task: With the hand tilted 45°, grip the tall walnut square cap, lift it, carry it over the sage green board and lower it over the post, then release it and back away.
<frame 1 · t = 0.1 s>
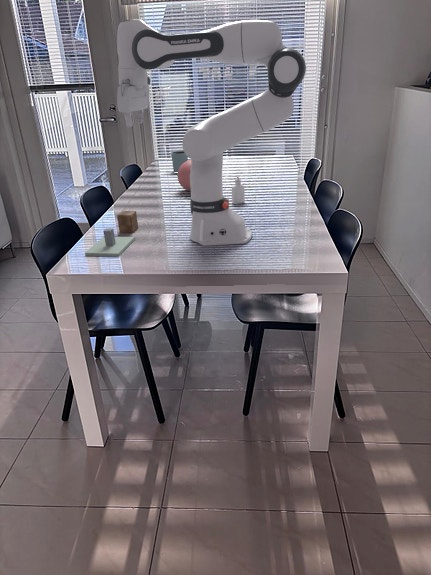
hand: (134, 125, 142), 39 cm above the table, tool pointing down, fingers open, 8 cm apart
drinking glass: (181, 172, 262), on the table
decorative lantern: (194, 192, 216), on the table
post board: (111, 247, 151), on the table
eye dropper bottle: (238, 203, 194), on the table
walnut cap: (129, 230, 166), on the table
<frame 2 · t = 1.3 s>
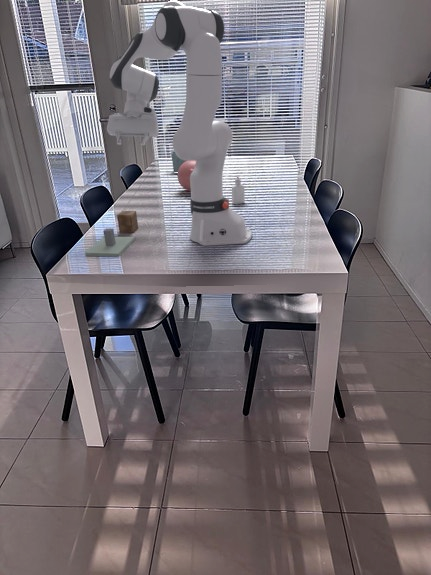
hand: (130, 144, 167), 30 cm above the table, tool tilted 45°, fingers open, 8 cm apart
nothing on the table moved.
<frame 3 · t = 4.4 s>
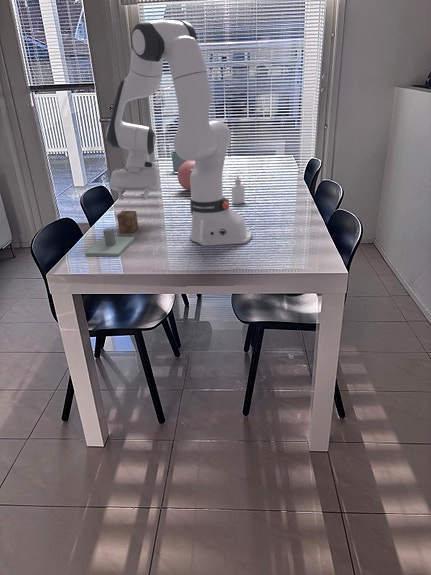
hand: (131, 198, 168), 10 cm above the table, tool tilted 45°, fingers open, 8 cm apart
nothing on the table moved.
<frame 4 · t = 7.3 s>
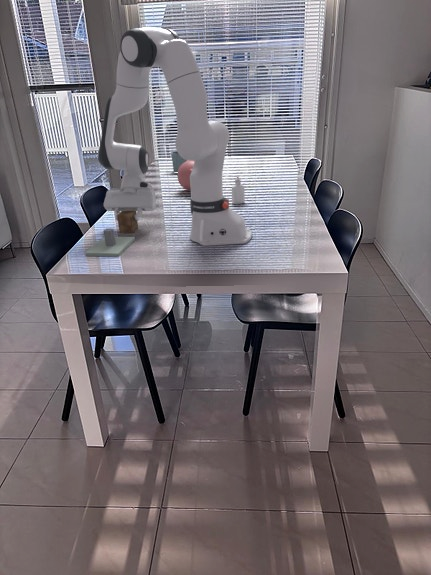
hand: (126, 220, 164), 4 cm above the table, tool tilted 45°, fingers closed on walnut cap, 6 cm apart
walnut cap: (129, 230, 166), on the table, touching gripper
everything else where it was.
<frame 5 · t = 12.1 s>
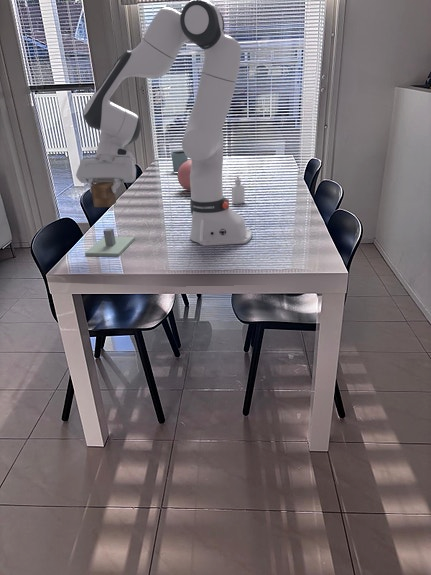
hand: (102, 192, 142), 19 cm above the table, tool tilted 45°, fingers closed on walnut cap, 6 cm apart
walnut cap: (105, 204, 145), point 15 cm above the table, touching gripper
everything else where it was.
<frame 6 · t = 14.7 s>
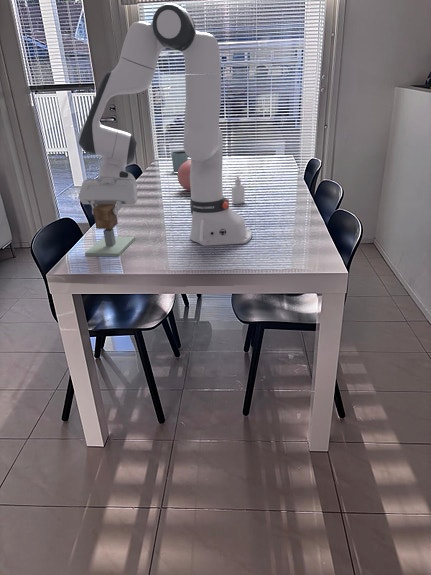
hand: (104, 214, 145), 12 cm above the table, tool tilted 45°, fingers closed on walnut cap, 6 cm apart
walnut cap: (107, 226, 147), point 8 cm above the table, touching gripper
everything else where it was.
when the fingers open (7 cm above the table, at t = 16.9 s): walnut cap drops 1 cm, resting on post board.
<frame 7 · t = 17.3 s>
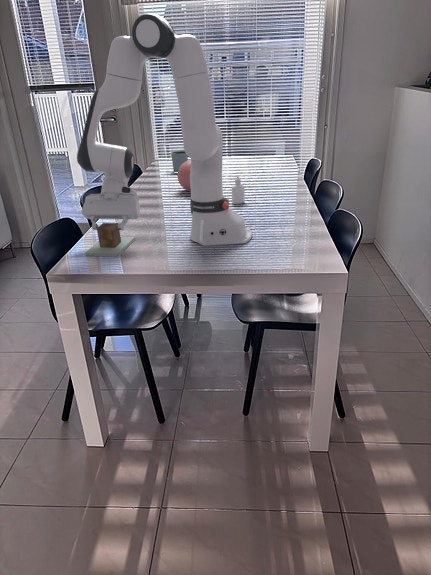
hand: (107, 229, 147), 7 cm above the table, tool tilted 45°, fingers open, 8 cm apart
walnut cap: (110, 244, 150), point 1 cm above the table, touching post board
everything else where it was.
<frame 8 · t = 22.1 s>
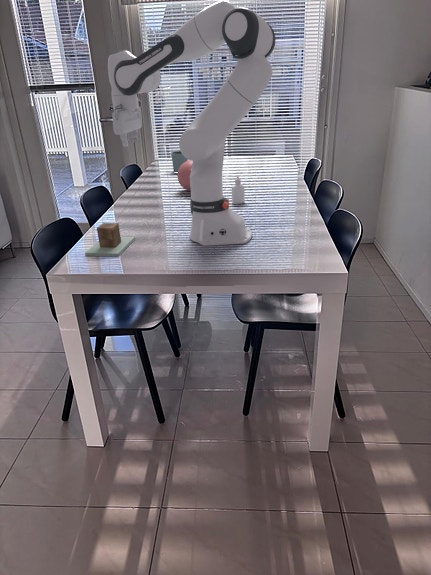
hand: (130, 144, 157), 31 cm above the table, tool pointing down, fingers open, 8 cm apart
nothing on the table moved.
at the end: walnut cap 0.0 cm from the post board (horizontally); walnut cap point 1.0 cm above the table; walnut cap tilted 0° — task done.
